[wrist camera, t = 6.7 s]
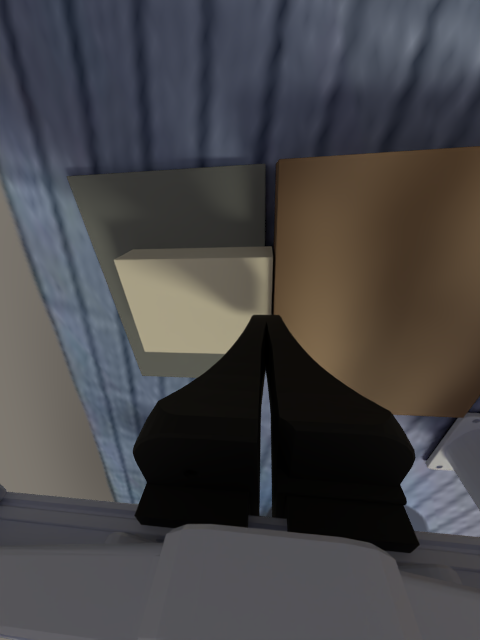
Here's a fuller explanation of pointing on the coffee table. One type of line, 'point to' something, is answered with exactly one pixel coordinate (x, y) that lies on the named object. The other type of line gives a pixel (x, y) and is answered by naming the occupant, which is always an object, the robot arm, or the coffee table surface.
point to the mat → (169, 231)
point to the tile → (195, 295)
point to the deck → (384, 273)
